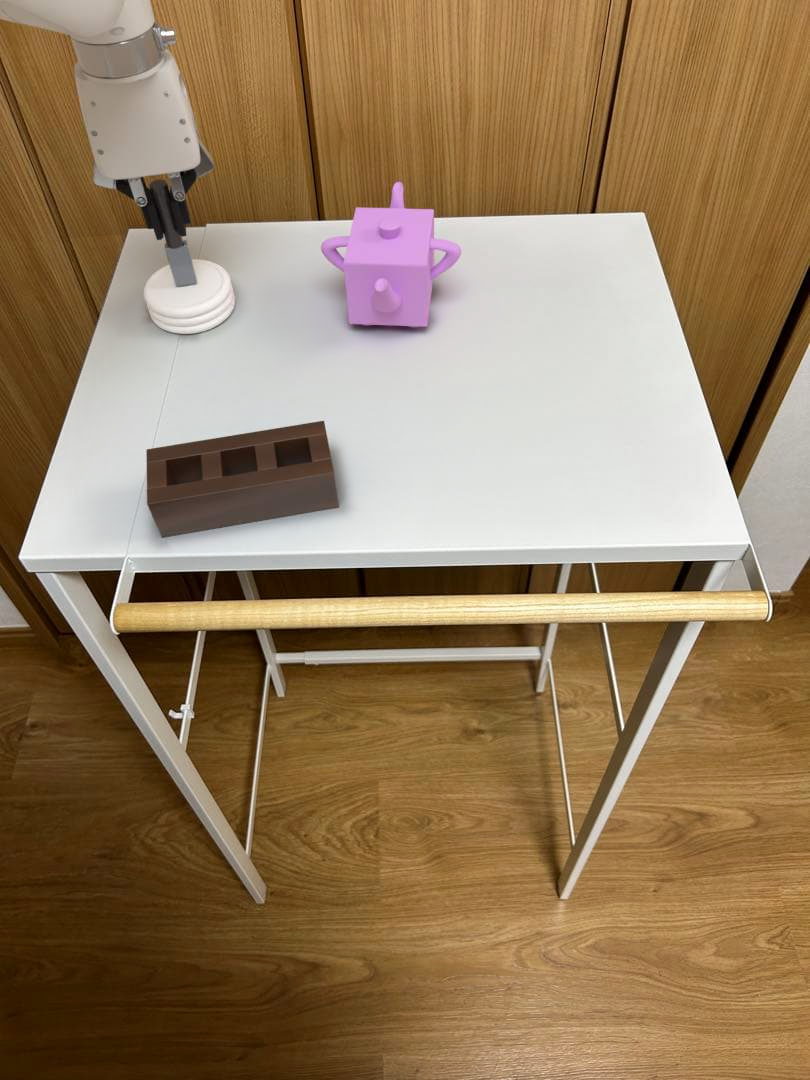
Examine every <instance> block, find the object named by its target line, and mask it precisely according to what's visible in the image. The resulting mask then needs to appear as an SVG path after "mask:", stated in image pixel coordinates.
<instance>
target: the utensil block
mask: <svg viewBox="0 0 810 1080" xmlns="http://www.w3.org/2000/svg"><path fill="white" fill-rule="evenodd" d="M325 423H326V422H325V420H319V421H313V422H306V423H299V424H295V425H288V426H281V427H277V428H270V429H264V430H257V431H251V432H245V433H239V434H233V435H227V436H226V435H225V436H220V437H215V438H208V439H202V440H196V441H190V442H183V443H178V444H172V445H165V446H159V447H153V448H147V449H146V454H145V455H146V505H147V508H148V510H149V512H150V514H151V516H152V518H153V521H154V523H155V525H156V527H157V530H158V532H159V534H160V536H161V538H168V537H173V536H180V535H185V534H190V533H198V532H203V531H209V530H215V529H221V528H226V527H232V526H237V525H244V524H250V523H255V522H261V521H268V520H273V519H278V518H284V517H290V516H295V515H301V514H308V513H314V512H318V511H325V510H331V509H336V508H340V501H339V495H338V489H337V483H336V475H335V470H334V464H333V459H332V454H331V450H330V444H329V438H328V434H327V429H326V424H325Z"/></svg>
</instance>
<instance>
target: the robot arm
mask: <svg viewBox="0 0 810 1080" xmlns="http://www.w3.org/2000/svg"><path fill="white" fill-rule="evenodd" d="M0 20H3V21H7V22H11V23H15V24H19V25H23V26H30V27H34V28H40V29H42V30H48V31H52V32H55V33H60V34H62V35H66V36H69V37H70V40H71V43H72V47H73V50H74V52H75V56H76V59H77V62H75V64H74V67H73V70H74V71H73V72H74V79H75V84H76V91H77V96H78V101H79V102H78V103H79V106H80V111H81V115H82V120H83V123H84V126H85V127H84V128H85V130H86V135H87V137H88V142H89V145H90V148H91V152H92V156H93V159H94V162H93V163H94V164H93V178H92V179H93V180H92V181H93V184H94V185H95V186H97V187H101V188H106V189H111V190H117V191H118V192H120V193H121V194H123V195H125V196H126V197H128V198H130V199H131V200H133V201H134V202H135V204H136V206H138V207H140V209H141V212H142V215H143V218H144V221H145V225H146V228H147V230H153V232H154V234H155V235H154V236H155V238H156V241H161V240H163V239H165V237H164V233H163V229H162V226H161V223H160V219H159V216H158V213H157V209H156V206H155V203H154V200H153V197H152V193H151V190H150V187H148V186H147V182H146V177H152V176H158V175H159V176H161V175H165V174H166V175H167V177H168V181H169V184H170V186H169V192H170V195H171V198H170V203H171V208H172V211H173V215H174V218H175V222H176V226H177V229H178V233H179V236H180V235H181V236H182V238H183V237H187V225H189V224H192V221H191V220H192V219H191V215H190V211H189V205H188V203H187V199H186V195H187V193H188V192H189V191H190V190H191V188H192V187H193V186H194V183H195V182H196V181H197V179H199V178H201V177H204V176H205V175H207V174H209V173H211V172H212V171H213V170H214V169H215V162H214V157H213V156H212V155H211V153H210V152H209V151H208V149H207V147H206V146H205V144H204V143H203V142H202V140H201V139H200V135H199V131H198V126H197V123H196V119H195V115H194V112H193V108H192V105H191V101H190V98H189V95H188V91H187V89H186V84H185V83H184V79H183V77H182V74H181V72H180V69H179V67H178V64H177V61H176V59H175V57H174V55H173V53H172V52H171V51H170V50H168V49H166V48H169V47H170V46H172V45H177V44H178V42H177V37H176V31H175V28H174V27H173V26H171V27H165V26H161V23H159V22H157V19H156V16H155V15H154V11H153V7H152V2H151V0H0Z"/></svg>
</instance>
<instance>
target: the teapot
mask: <svg viewBox="0 0 810 1080" xmlns="http://www.w3.org/2000/svg"><path fill="white" fill-rule="evenodd" d="M338 248H346V251H345V255H344V257H343V256H342V255H341V254H340V252H339V251H338ZM435 250H437V251H441V252H444V253H445V255H444V256H443V258H442V259H440V260H439V262H438V263H437V264H435ZM320 251H321V253H322V255H323V256H324V257H325V259H326V260H327V261H328V262H329V263H330V264H332V265H333V266H334V267H336V268H337V269H338V270H340V271H341V272H343V275H344V286H345V293H346V294H345V296H346V303H347V313H348V315H347V316H348V323H349V325H361V326H365V327H371V326H373V325H374V326H399V327H408V328H412V329H415V328H421V327H422V328H423V327H426V328H428V325H429V317H430V309H431V302H432V301H431V299H432V292H433V283H434V279H435V278H437V277H438V276H440V275H442V274H443V273H444V272H447V270H449V269H450V268H452V267H453V266H454V265H455V264H456V263H457V262H458V260H460V257H461V255H462V248H461V246H460V245H459V244H458V243H456V242H454V241H452V240H446V239H443V238H442V239H441V238H435V210H434V209H433V208H405V201H404V184H403V183H402V182H401V181H396V182H395V183H394V184H393V186H392V190H391V199H390V205H389V207H359V206H357V207H355V209H354V215H353V219H352V224H351V227H350V232H349V235H342V236H341V235H340V236H333V237H329V238H327V239H325V240H323V242H321V245H320Z"/></svg>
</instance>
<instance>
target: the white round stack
mask: <svg viewBox="0 0 810 1080" xmlns="http://www.w3.org/2000/svg"><path fill="white" fill-rule="evenodd" d="M191 259H192V263H193V266H194V270H195V274H196V277H197V283H196V284H189V285H182V286H176V284H175V281H174V278H173V274H172V271H171V268H170V264H169V263H168V264H166V265H164V266H162V267H161V268H159V269H157V270H156V271H155V272H153V273H152V275H150V277H149V278H148V279H147V280H146V282H145V284H144V286H143V299H144V301H145V304H146V308H147V310H148V313H149V317H150V319H151V321H153V323H154V324H155V325H156V326H157V327H159V328H160V329H162V330H164V331H166V332H169V333H173V334H181V335H191V334H192V335H193V334H197V333H203V332H206V331H209V330H211V329H213V328H216V327H218V326H219V325H220V324H222V323H223V322H224V321H225V320H227V319H228V318H229V317H230V315H231V314H232V313H233V311H234V309H235V304H236V296H235V293H234V288H233V285H232V279H231V277H230V274H229V273H228V271H227V270H226V269H225V268H224V267H223V266H221V265H220V264H218V263H216V262H214V261H209V260H205V259H198V258H196V259H195V258H194V259H193V258H191Z"/></svg>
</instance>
